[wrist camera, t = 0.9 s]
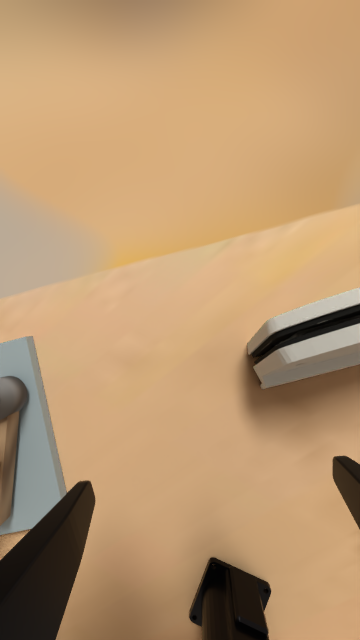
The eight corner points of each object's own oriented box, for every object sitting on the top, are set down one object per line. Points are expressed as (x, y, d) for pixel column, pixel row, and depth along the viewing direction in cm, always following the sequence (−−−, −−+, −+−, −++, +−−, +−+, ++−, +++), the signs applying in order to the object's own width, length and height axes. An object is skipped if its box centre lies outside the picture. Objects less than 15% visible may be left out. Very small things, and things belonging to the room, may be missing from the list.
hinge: (258, 390, 24) (283, 380, 14) (243, 347, 25) (257, 314, 16) (421, 348, 22) (563, 308, 13) (393, 307, 24) (500, 246, 15)
